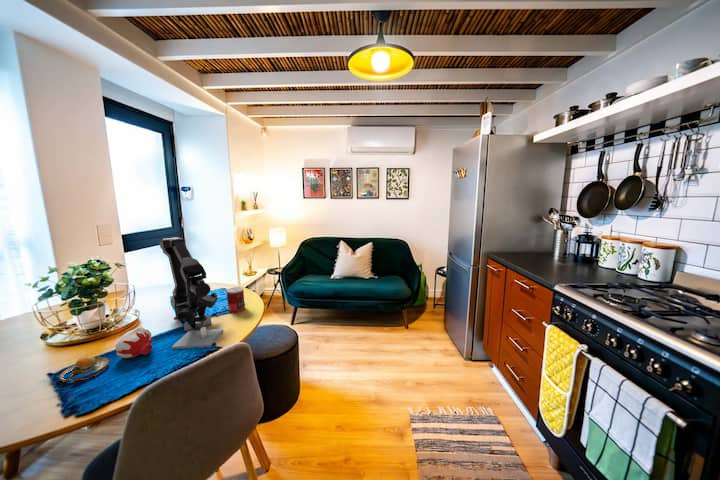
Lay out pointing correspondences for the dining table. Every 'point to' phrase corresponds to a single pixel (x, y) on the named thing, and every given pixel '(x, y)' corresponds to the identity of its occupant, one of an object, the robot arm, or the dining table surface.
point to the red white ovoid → (134, 343)
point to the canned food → (235, 299)
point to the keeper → (198, 338)
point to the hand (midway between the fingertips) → (198, 323)
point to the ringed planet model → (85, 367)
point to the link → (198, 323)
